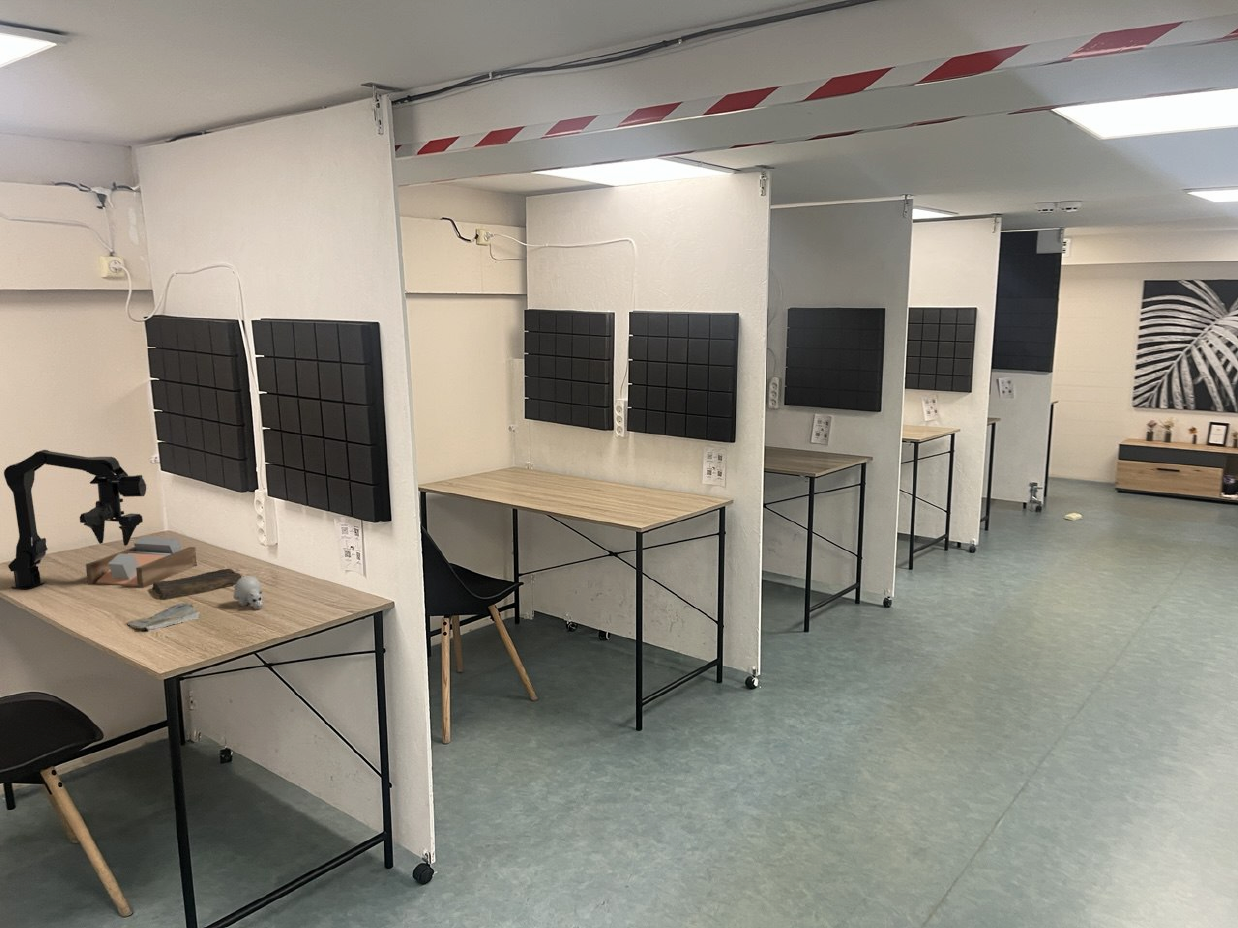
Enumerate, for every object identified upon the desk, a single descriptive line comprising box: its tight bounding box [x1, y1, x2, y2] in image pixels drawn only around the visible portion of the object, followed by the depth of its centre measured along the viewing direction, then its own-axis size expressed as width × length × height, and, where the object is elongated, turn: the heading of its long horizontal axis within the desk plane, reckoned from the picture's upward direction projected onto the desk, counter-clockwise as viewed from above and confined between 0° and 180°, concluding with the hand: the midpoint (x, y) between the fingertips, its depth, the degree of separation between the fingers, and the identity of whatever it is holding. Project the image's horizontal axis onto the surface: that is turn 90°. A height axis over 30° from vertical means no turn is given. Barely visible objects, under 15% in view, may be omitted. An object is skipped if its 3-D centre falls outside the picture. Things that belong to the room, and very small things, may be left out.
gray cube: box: [108, 552, 139, 580], centre depth 277 cm, size 6×6×6 cm
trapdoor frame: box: [85, 546, 198, 589], centre depth 285 cm, size 21×25×6 cm
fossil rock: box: [125, 602, 201, 632], centre depth 244 cm, size 18×15×2 cm
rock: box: [152, 568, 243, 600], centre depth 273 cm, size 25×4×15 cm
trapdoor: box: [96, 536, 183, 587], centre depth 284 cm, size 16×22×5 cm
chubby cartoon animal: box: [233, 575, 264, 610], centre depth 254 cm, size 7×12×8 cm, turn 45°
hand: (113, 544), depth 275 cm, fingers open, 9 cm apart
